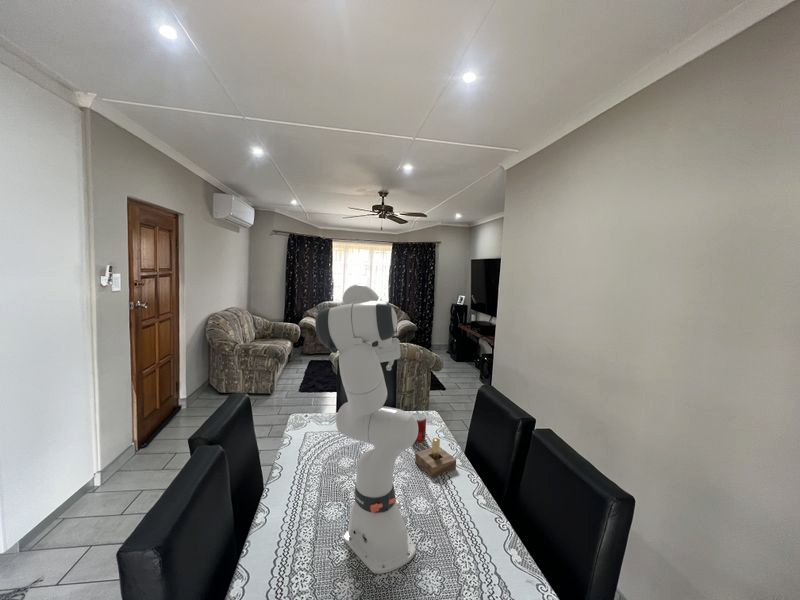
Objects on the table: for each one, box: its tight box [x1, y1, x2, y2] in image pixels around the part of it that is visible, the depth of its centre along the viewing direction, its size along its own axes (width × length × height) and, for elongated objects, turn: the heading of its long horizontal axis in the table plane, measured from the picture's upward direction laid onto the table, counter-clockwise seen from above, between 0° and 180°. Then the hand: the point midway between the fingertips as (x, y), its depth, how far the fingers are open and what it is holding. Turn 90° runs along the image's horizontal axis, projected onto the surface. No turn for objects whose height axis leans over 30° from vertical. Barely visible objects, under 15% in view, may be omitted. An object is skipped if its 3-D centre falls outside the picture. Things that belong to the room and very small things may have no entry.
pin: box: [431, 437, 441, 460], centre depth 136 cm, size 3×3×10 cm
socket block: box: [414, 447, 457, 478], centre depth 136 cm, size 12×12×4 cm
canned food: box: [411, 412, 427, 443], centre depth 158 cm, size 8×8×11 cm
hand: (380, 372), depth 139 cm, fingers open, 8 cm apart
